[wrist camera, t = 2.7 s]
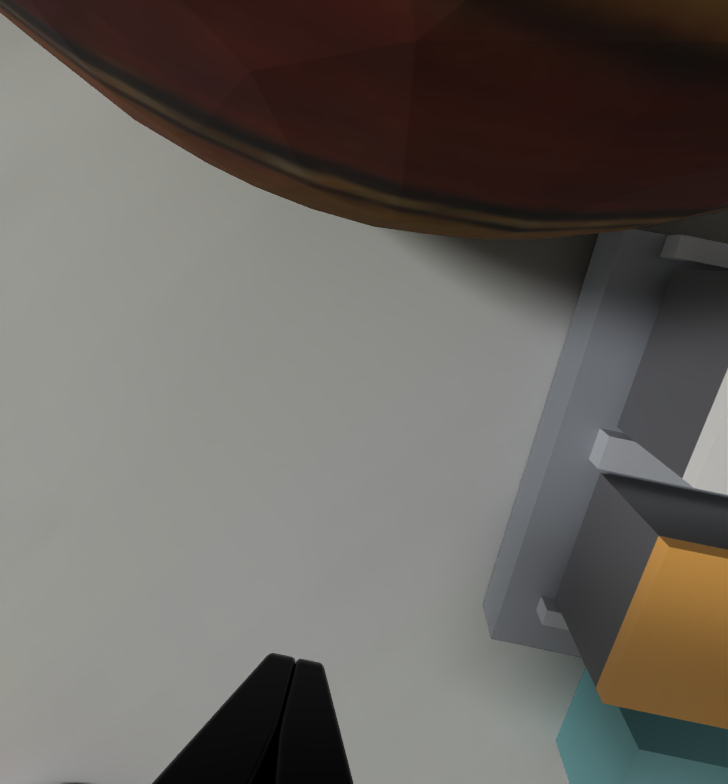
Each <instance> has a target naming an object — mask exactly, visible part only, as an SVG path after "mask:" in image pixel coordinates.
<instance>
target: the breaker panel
mask: <svg viewBox="0 0 728 784" xmlns="http://www.w3.org/2000/svg"><path fill="white" fill-rule="evenodd" d="M674 268H682V269H700V270H717V271H728V244H727V243H722V242H717V241H712V240H707V239H702V238H697V237H692V236H687V235H682V234H680V235H664V234H659V233H654V232H649V231H644V230H639V229H634V228H633V229H628V230H623V231H614V232H604V233H599V235H598V238H597V241H596V244H595V247H594V251H593V254H592V257H591V260H590V263H589V267H588V270H587V273H586V276H585V279H584V283H583V286H582V289H581V292H580V295H579V299H578V302H577V305H576V308H575V311H574V315H573V318H572V321H571V324H570V327H569V331H568V334H567V337H566V340H565V343H564V346H563V350H562V353H561V356H560V359H559V362H558V366H557V369H556V372H555V375H554V378H553V382H552V385H551V388H550V391H549V394H548V398H547V401H546V404H545V407H544V410H543V414H542V417H541V420H540V423H539V426H538V430H537V433H536V436H535V439H534V442H533V446H532V449H531V452H530V455H529V458H528V462H527V465H526V468H525V471H524V474H523V478H522V481H521V484H520V487H519V490H518V493H517V497H516V500H515V503H514V506H513V509H512V513H511V516H510V519H509V522H508V525H507V529H506V532H505V535H504V538H503V541H502V545H501V548H500V551H499V554H498V557H497V561H496V564H495V567H494V570H493V573H492V577H491V580H490V583H489V586H488V589H487V593H486V596H485V599H484V602H483V608H484V612H485V616H486V620H487V624H488V628H489V632H490V636H491V639H495V640H500V641H505V642H510V643H515V644H520V645H524V646H529V647H534V648H539V649H544V650H549V651H553V652H558V653H563V654H568V655H573V656H578V657H581V655H580V653H579V651H578V648H577V646H576V644H575V642H574V640H573V637H572V635H571V633H570V631H569V629H568V627H567V624H566V622H565V620H564V618H563V616H562V614H561V611H560V609H559V607H558V605H557V603H556V601H555V597H556V594H557V591H558V588H559V586H560V583H561V580H562V577H563V575H564V572H565V569H566V566H567V563H568V561H569V558H570V555H571V552H572V550H573V547H574V544H575V541H576V539H577V536H578V533H579V530H580V527H581V525H582V522H583V519H584V516H585V514H586V511H587V508H588V505H589V502H590V500H591V497H592V494H593V491H594V489H595V486H596V483H597V480H598V477H599V475H600V473H604V474H609V475H614V476H619V477H624V478H629V479H634V480H638V481H643V482H648V483H653V484H658V485H663V486H668V487H673V488H678V489H682V490H687V491H692V492H697V493H702V494H707V495H712V496H717V497H722V498H726V499H728V495H726V494H721V493H716V492H712V491H707V490H702V489H697V488H693V487H692V486H691V485H690V484H688V483H687V482H686V481H685V480H683V479H682V478H681V477H680V476H678V475H677V474H676V473H674V472H673V471H672V470H671V469H669V468H668V467H667V466H666V465H664V464H663V463H662V462H661V461H659V460H658V459H657V458H655V457H654V456H653V455H652V454H650V453H649V452H648V451H647V450H645V449H644V448H643V447H642V446H640V445H639V444H638V443H636V442H635V441H634V440H633V439H631V438H630V437H629V436H628V435H626V434H625V433H624V432H623V431H621V430H620V429H619V428H618V427H617V425H618V422H619V419H620V416H621V414H622V411H623V408H624V405H625V403H626V400H627V397H628V394H629V391H630V389H631V386H632V383H633V380H634V378H635V375H636V372H637V369H638V366H639V364H640V361H641V358H642V355H643V353H644V350H645V347H646V344H647V342H648V339H649V336H650V333H651V330H652V328H653V325H654V322H655V319H656V317H657V314H658V311H659V308H660V305H661V303H662V300H663V297H664V294H665V292H666V289H667V286H668V283H669V281H670V278H671V275H672V272H673V269H674Z"/></svg>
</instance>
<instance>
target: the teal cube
mask: <svg viewBox="0 0 728 784" xmlns="http://www.w3.org/2000/svg"><path fill="white" fill-rule="evenodd" d="M556 743H557V746H558V749H559V752H560V755H561V758H562V761H563V764H564V767H565V770H566V773H567V777H568V780H569V783H570V784H728V729H724V728H719V727H715V726H710V725H705V724H700V723H695V722H690V721H686V720H681V719H676V718H671V717H666V716H661V715H657V714H652V713H647V712H642V711H637V710H632V709H628V708H623V707H618V706H613V705H608V704H603V703H602V701H601V698H600V696H599V694H598V692H597V690H596V687H595V685H594V683H593V681H592V679H591V677H590V674H589V672H588V670H587V668H586V667H585V670H584V672H583V675H582V677H581V680H580V682H579V685H578V687H577V690H576V692H575V695H574V697H573V699H572V702H571V704H570V707H569V709H568V712H567V714H566V717H565V719H564V722H563V724H562V727H561V729H560V732H559V734H558V736H557V739H556Z"/></svg>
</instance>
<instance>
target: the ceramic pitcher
mask: <svg viewBox="0 0 728 784" xmlns="http://www.w3.org/2000/svg"><path fill="white" fill-rule="evenodd" d="M0 13H2V14H3V15H4V16H5V17H6V18H8V19H9V20H10V21H11V22H13V23H14V24H15V25H16V26H17V27H19V28H20V29H21V30H22V31H23V32H25V33H26V34H27V35H28V36H30V37H31V38H32V39H33V40H34V41H36V42H37V43H38V44H39V45H41V46H42V47H43V48H45V49H46V50H47V51H48V52H50V53H51V54H52V55H53V56H55V57H56V58H57V59H58V60H60V61H61V62H62V63H64V64H65V65H66V66H67V67H69V68H70V69H71V70H72V71H74V72H75V73H76V74H77V75H79V76H80V77H81V78H83V79H84V80H85V81H86V82H88V83H89V84H90V85H91V86H93V87H94V88H95V89H96V90H98V91H99V92H100V93H102V94H103V95H104V96H105V97H107V98H108V99H109V100H110V101H112V102H113V103H114V104H115V105H117V106H118V107H119V108H121V109H122V110H123V111H124V112H126V113H127V114H128V115H129V116H131V117H132V118H133V119H134V120H136V121H138V122H139V123H141V124H143V125H144V126H146V127H148V128H149V129H151V130H153V131H154V132H156V133H158V134H159V135H161V136H163V137H165V138H166V139H168V140H170V141H171V142H173V143H175V144H176V145H178V146H180V147H181V148H183V149H185V150H186V151H188V152H190V153H191V154H193V155H195V156H196V157H198V158H200V159H201V160H203V161H205V162H207V163H208V164H210V165H212V166H214V167H217V168H219V169H221V170H223V171H225V172H227V173H229V174H231V175H233V176H235V177H237V178H239V179H241V180H243V181H245V182H247V183H249V184H251V185H253V186H255V187H258V188H260V189H263V190H265V191H268V192H270V193H273V194H275V195H278V196H280V197H283V198H286V199H288V200H291V201H293V202H296V203H298V204H301V205H303V206H306V207H308V208H311V209H315V210H318V211H322V212H325V213H328V214H332V215H335V216H339V217H342V218H346V219H349V220H353V221H356V222H360V223H363V224H367V225H370V226H374V227H381V228H389V229H396V230H403V231H410V232H418V233H425V234H434V235H443V236H452V237H461V238H470V239H544V238H554V237H564V236H574V235H584V234H594V233H604V232H614V231H623V230H628V229H633V228H638V227H644V226H649V225H654V224H659V223H664V222H669V221H674V220H679V219H685V218H690V217H695V216H700V215H705V214H710V213H715V212H720V211H725V210H728V0H0Z"/></svg>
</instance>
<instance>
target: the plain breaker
mask: <svg viewBox="0 0 728 784" xmlns="http://www.w3.org/2000/svg"><path fill="white" fill-rule="evenodd" d="M617 427H618V428H619V429H620V430H621V431H623V432H624V433H625V434H626V435H628V436H629V437H630V438H631V439H633V440H634V441H635V442H636V443H638V444H639V445H640V446H642V447H643V448H644V449H645V450H647V451H648V452H649V453H650V454H652V455H653V456H654V457H655V458H657V459H658V460H659V461H661V462H662V463H663V464H664V465H666V466H667V467H668V468H669V469H671V470H672V471H673V472H674V473H676V474H677V475H678V476H680V477H681V478H682V479H683V480H685V481H686V482H687V483H688V484H690V485H691V486H692V487H693V488H697V489H702V490H707V491H712V492H716V493H721V494H726V495H728V271H717V270H700V269H682V268H674V269H673V272H672V275H671V278H670V281H669V283H668V286H667V289H666V292H665V294H664V297H663V300H662V303H661V305H660V308H659V311H658V314H657V317H656V319H655V322H654V325H653V328H652V330H651V333H650V336H649V339H648V342H647V344H646V347H645V350H644V353H643V355H642V358H641V361H640V364H639V366H638V369H637V372H636V375H635V378H634V380H633V383H632V386H631V389H630V391H629V394H628V397H627V400H626V403H625V405H624V408H623V411H622V414H621V416H620V419H619V422H618V425H617Z"/></svg>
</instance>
